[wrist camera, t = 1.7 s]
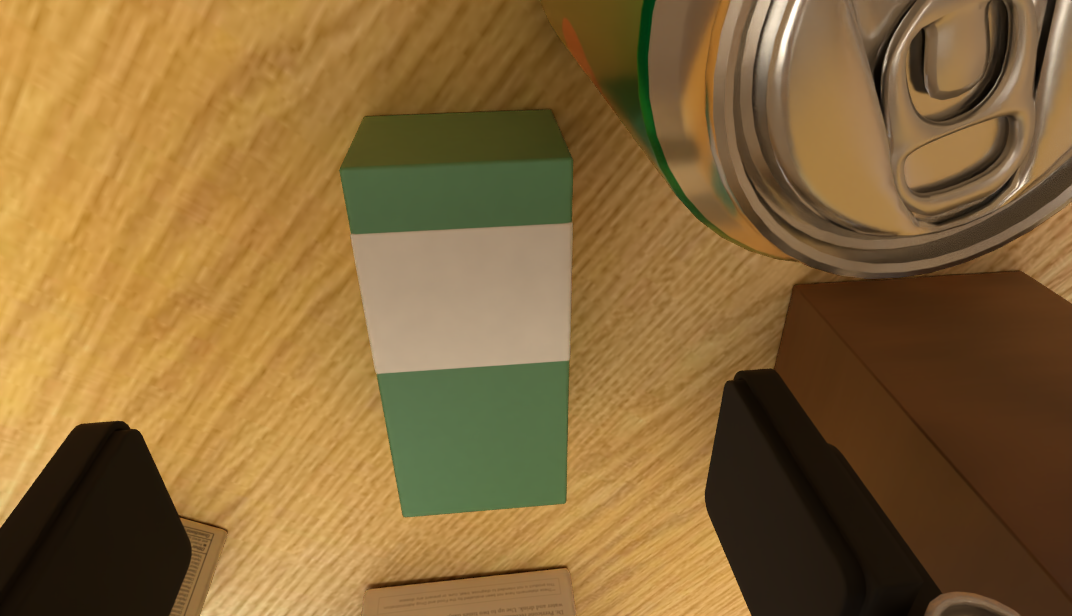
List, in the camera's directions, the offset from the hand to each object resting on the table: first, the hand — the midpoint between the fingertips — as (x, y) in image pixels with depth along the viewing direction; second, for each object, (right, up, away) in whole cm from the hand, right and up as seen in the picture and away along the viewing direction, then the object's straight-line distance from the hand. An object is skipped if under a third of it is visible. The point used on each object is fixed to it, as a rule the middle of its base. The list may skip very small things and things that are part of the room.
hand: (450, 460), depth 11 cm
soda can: (+4, +11, +5) cm, 13 cm away
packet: (-1, +3, +9) cm, 10 cm away
